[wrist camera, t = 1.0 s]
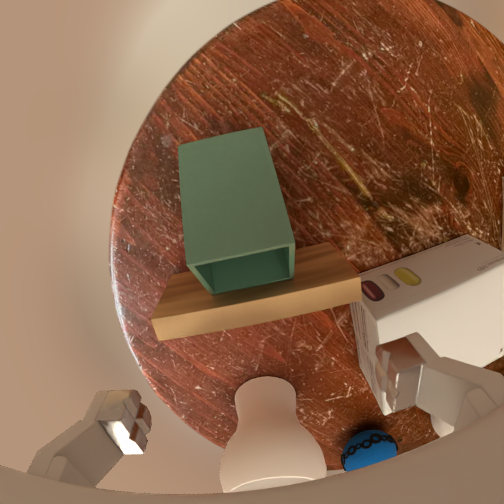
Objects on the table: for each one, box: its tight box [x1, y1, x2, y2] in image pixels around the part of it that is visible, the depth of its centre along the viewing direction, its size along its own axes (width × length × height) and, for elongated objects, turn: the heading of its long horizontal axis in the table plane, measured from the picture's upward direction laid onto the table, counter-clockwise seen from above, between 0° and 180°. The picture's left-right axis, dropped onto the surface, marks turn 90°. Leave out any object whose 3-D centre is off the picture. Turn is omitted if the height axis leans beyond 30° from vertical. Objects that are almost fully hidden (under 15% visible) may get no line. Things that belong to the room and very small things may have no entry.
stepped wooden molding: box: [150, 242, 362, 341], centre depth 28 cm, size 6×16×9 cm, turn 102°
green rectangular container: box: [178, 127, 295, 296], centre depth 24 cm, size 12×7×12 cm, turn 12°
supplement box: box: [349, 234, 504, 415], centre depth 29 cm, size 17×13×9 cm
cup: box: [220, 376, 327, 493], centre depth 30 cm, size 11×11×15 cm
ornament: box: [341, 430, 398, 472], centre depth 36 cm, size 9×9×10 cm
